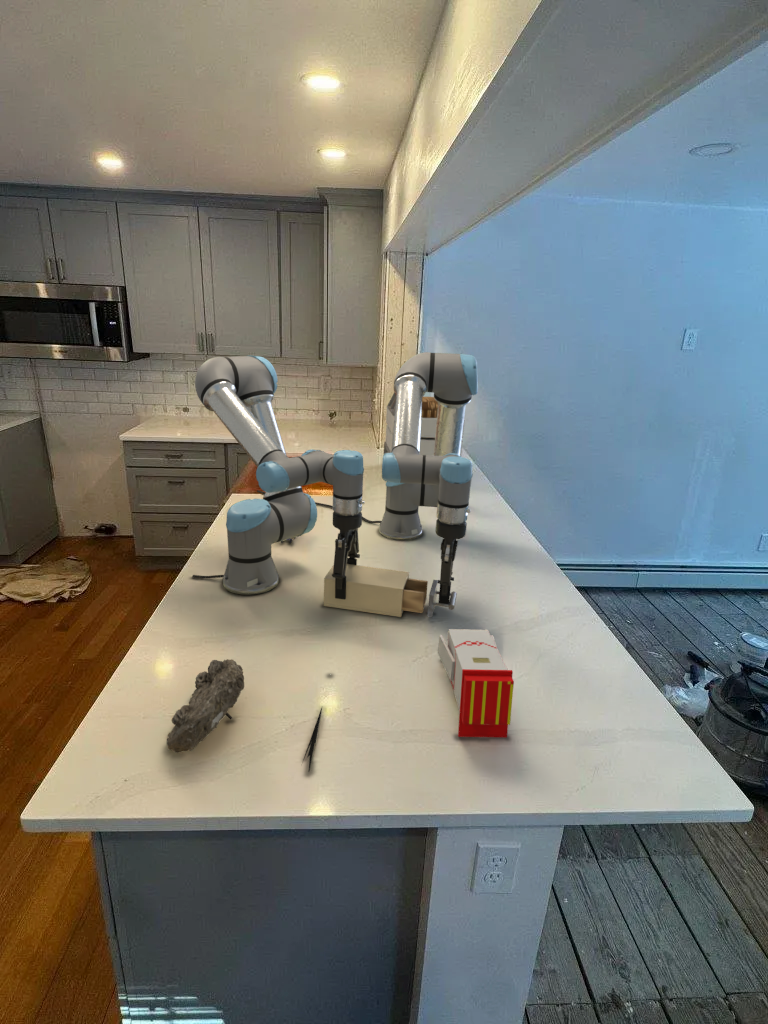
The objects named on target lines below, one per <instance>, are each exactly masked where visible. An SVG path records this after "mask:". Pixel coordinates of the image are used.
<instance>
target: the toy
mask: <svg viewBox="0 0 768 1024" xmlns="http://www.w3.org/2000/svg"><path fill="white" fill-rule="evenodd" d="M446 640H447V643H446V641H445V639H444V636H443V635H442V634H439V637H438V646H437V656H438V657H439V659H440V661H441V663H442V666H443V668H444V670H445V672H446V674H447V677H448V679H449V681H450V684H451V687H452V690H453V693H454V697H455V701H456V705H457V708H458V711H459V714H458V715H459V716H458V730H457V731H458V732H457V737H458V738H508V731H509V726H510V725H511V717H512V707H513V697H514V696H513V695H514V684H515V680H514V679H513V673H514V671H513V670H512V669H508V667H507V665H506V662H505V661H504V659H503V658H502V655H501V653H500V651H499V649H498V647H497V643H496V639H495V637H494V635H493V634H491V632H490V631H489V629H467V628H466V629H465V628H463V629H461V628H460V629H459V628H448V630H447V639H446Z"/></svg>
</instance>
